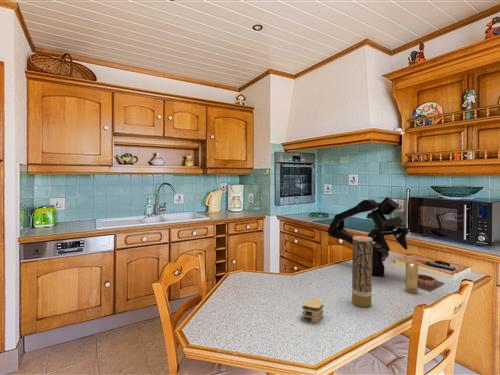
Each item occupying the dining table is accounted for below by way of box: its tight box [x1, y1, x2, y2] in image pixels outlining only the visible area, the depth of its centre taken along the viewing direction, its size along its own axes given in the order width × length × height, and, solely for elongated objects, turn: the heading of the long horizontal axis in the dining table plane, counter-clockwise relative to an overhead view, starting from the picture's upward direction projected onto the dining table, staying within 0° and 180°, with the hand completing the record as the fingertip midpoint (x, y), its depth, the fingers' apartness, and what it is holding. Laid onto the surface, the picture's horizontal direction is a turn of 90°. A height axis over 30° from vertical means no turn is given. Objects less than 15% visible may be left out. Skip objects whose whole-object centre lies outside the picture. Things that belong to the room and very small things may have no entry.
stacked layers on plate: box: [301, 298, 325, 324], centre depth 91 cm, size 10×9×6 cm
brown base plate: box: [418, 273, 445, 292], centre depth 120 cm, size 14×10×3 cm
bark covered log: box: [351, 235, 373, 308], centre depth 101 cm, size 7×7×25 cm
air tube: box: [404, 261, 419, 295], centre depth 111 cm, size 4×4×12 cm
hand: (398, 249), depth 118 cm, fingers open, 9 cm apart
